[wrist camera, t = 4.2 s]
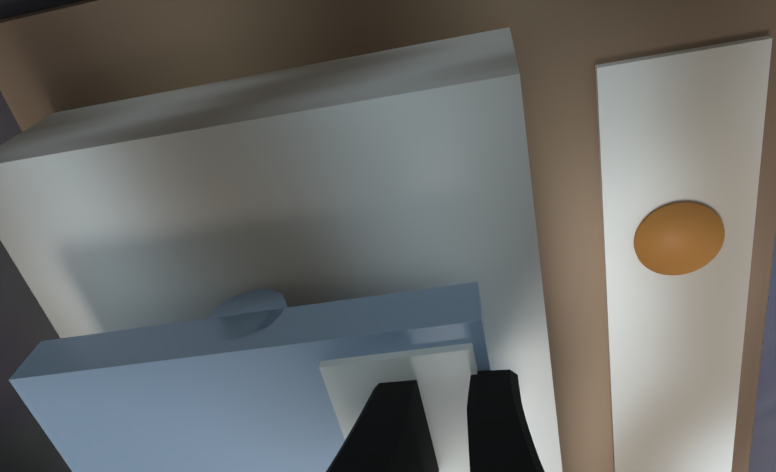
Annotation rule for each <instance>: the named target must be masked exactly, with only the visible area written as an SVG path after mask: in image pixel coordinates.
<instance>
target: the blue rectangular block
mask: <svg viewBox="0 0 776 472" xmlns="http://www.w3.org/2000/svg"><path fill="white" fill-rule="evenodd" d="M490 370H493V368H492V362H491V356H490V350H489V344H488V339H487V333H486V327H485V321H484V315H483V309H482V303H481V297H480V292H479V286H478V282H473V283H465V284H458V285H450V286H443V287H436V288H428V289H421V290H414V291H406V292H399V293H392V294H384V295H377V296H369V297H362V298H355V299H347V300H340V301H333V302H325V303H318V304H310V305H303V306H296V307H288V306H287V304H286V301H285V298H284V296H283V295H282V294H281V293H279V292H277V291H275V290H271V289H256V290H251V291H247V292H244V293H241V294H238V295H236V296H234V297H232V298H230V299H228V300H226V301H225V302H223V303H222V304H221V305H219V306H218V307H217V308H216V309H215V310H214V311H213V312H212V314H211V315H210V316H209V318H207V319H200V320H193V321H185V322H178V323H170V324H163V325H156V326H148V327H141V328H134V329H126V330H119V331H111V332H104V333H97V334H89V335H82V336H75V337H67V338H60V339H52V340H45V341H41V342H40V343H39V344H38V345H37V346H36V348H35V349H34V350H33V351H32V352H31V354H30V355H29V356H28V357H27V358H26V360H25V361H24V362H23V363H22V364H21V365H20V367H19V368H18V369H17V370H16V371H15V373H14V374H13V375H12V376H11V377H10V379H9V381H10V383H11V384H12V386H13V387H14V389H15V390H16V391H17V393H18V394H19V396H20V397H21V399H22V400H23V402H24V403H25V404H26V406H27V407H28V409H29V410H30V412H31V413H32V414H33V416H34V417H35V419H36V420H37V422H38V423H39V425H40V426H41V427H42V429H43V430H44V432H45V433H46V435H47V436H48V437H49V439H50V440H51V442H52V443H53V445H54V446H55V448H56V449H57V450H58V452H59V453H60V455H61V456H62V458H63V459H64V461H65V462H66V463H67V465H68V466H69V468H70V469H71V471H72V472H326V471H327V469H328V468H329V466H330V464H331V463H332V461H333V460H334V458H335V456H336V455H337V453H338V451H339V450H340V448H341V447H342V445H343V443H344V441H345V440H346V438H347V436H348V434H349V433H350V431H351V429H352V428H353V426H354V424H355V422H356V420H357V419H358V417H359V415H360V413H361V411H362V410H363V408H364V406H365V404H366V402H367V400H368V399H369V397H370V395H371V393H372V391H373V389H374V388H375V387H376V386H377V385H378V384H379V383H386V382H397V381H408V380H417V383H418V387H419V391H420V395H421V399H422V403H423V407H424V411H425V415H426V419H427V423H428V427H429V431H430V435H431V439H432V443H433V447H434V451H435V455H436V459H437V463H438V467H439V472H470V462H469V444H468V426H467V400H468V391H469V383H470V376H471V375H474V374H477V371H490Z"/></svg>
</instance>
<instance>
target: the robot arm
mask: <svg viewBox="0 0 776 472" xmlns="http://www.w3.org/2000/svg"><path fill="white" fill-rule="evenodd" d="M467 426H468V444H469V462H470V472H545V471H544V469H543V466H542V464H541V461H540V459H539V456H538V454H537V451H536V448H535V445H534V443H533V440H532V437H531V433H530V430H529V427H528V424H527V421H526V418H525V414H524V410H523V406H522V402H521V395H520V388H519V381H518V375H517V374H516V373H514V372H513V371H511V370H510V369H508V370H490V371H477V374H474V375H471V376H470V383H469V391H468V400H467ZM326 472H439V467H438V463H437V459H436V455H435V451H434V447H433V443H432V439H431V435H430V431H429V427H428V423H427V419H426V415H425V411H424V407H423V403H422V399H421V395H420V391H419V387H418V383H417V380H408V381H397V382H386V383H379V384H378V385H377V386H376V387H375V388H374V389H373V391H372V393H371V395H370V397H369V399H368V400H367V402H366V404H365V406H364V408H363V410H362V411H361V413H360V415H359V417H358V419H357V420H356V422H355V424H354V426H353V428H352V429H351V431H350V433H349V434H348V436H347V438H346V440H345V441H344V443H343V445H342V447H341V448H340V450H339V451H338V453H337V455H336V456H335V458H334V460H333V461H332V463H331V464H330V466H329V468H328V469H327V471H326Z"/></svg>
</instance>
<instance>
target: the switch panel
mask: <svg viewBox="0 0 776 472" xmlns="http://www.w3.org/2000/svg"><path fill="white" fill-rule="evenodd" d="M0 91H1V93H2V95H3V97H4V99H5V101H6V102H7V104H8V106H9V108H10V110H11V112H12V114H13V115H14V117H15V119H16V121H17V123H18V125H19V127H20V128H21V130H22V132H21V133H20V134H18V135H16V136H15V137H13V138H11V139H10V140H8V141H6V142H4V143H3V144H1V145H0V240H1V242H2V243H3V245H4V247H5V248H6V250H7V252H8V253H9V255H10V256H11V258H12V260H13V261H14V263H15V265H16V266H17V268H18V270H19V271H20V273H21V274H22V276H23V278H24V279H25V281H26V283H27V284H28V286H29V288H30V289H31V291H32V292H33V294H34V296H35V297H36V299H37V301H38V302H39V304H40V306H41V307H42V309H43V310H44V312H45V314H46V315H47V317H48V319H49V320H50V322H51V324H52V325H53V327H54V328H55V330H56V332H57V333H58V335H59V337H60V338H67V337H75V336H82V335H89V334H97V333H104V332H111V331H119V330H126V329H134V328H141V327H148V326H156V325H163V324H170V323H178V322H185V321H193V320H200V319H207V318H209V316H210V315H211V314H212V312H213V311H214V310H215V309H216V308H217V307H218V306H219V305H221V304H222V303H223V302H225V301H226V300H228V299H230V298H232V297H234V296H236V295H238V294H241V293H244V292H247V291H251V290H256V289H271V290H275V291H277V292H279V293H281V294H282V295H283V296H284V298H285V301H286V304H287V306H288V307H296V306H303V305H310V304H318V303H325V302H333V301H340V300H347V299H355V298H362V297H369V296H377V295H384V294H392V293H399V292H406V291H414V290H421V289H428V288H436V287H443V286H450V285H458V284H465V283H473V282H478V286H479V292H480V297H481V303H482V309H483V315H484V321H485V327H486V333H487V339H488V344H489V350H490V356H491V362H492V368H493V370H508V369H510V370H511V371H513V372H514V373H516V374H517V375H518V381H519V388H520V395H521V402H522V406H523V410H524V414H525V418H526V421H527V424H528V427H529V430H530V433H531V437H532V440H533V443H534V445H535V448H536V451H537V454H538V456H539V459H540V461H541V464H542V466H543V469H544V471H545V472H748V467H749V458H750V449H751V441H752V432H753V423H754V414H755V406H756V397H757V388H758V380H759V371H760V362H761V353H762V345H763V336H764V327H765V318H766V310H767V301H768V292H769V283H770V275H771V266H772V257H773V249H774V240H775V231H776V0H83V1H79V2H75V3H70V4H66V5H62V6H57V7H53V8H49V9H44V10H40V11H35V12H31V13H27V14H22V15H18V16H14V17H9V18H5V19H1V20H0Z"/></svg>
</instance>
